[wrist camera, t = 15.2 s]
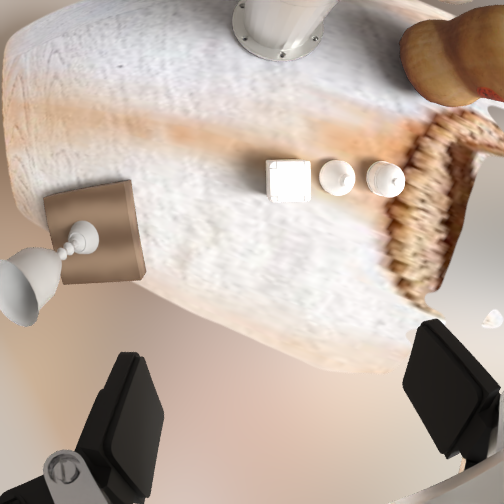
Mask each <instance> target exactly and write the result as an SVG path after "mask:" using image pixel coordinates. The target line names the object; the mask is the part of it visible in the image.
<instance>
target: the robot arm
mask: <svg viewBox="0 0 504 504" xmlns="http://www.w3.org/2000/svg"><path fill="white" fill-rule="evenodd" d="M338 1H339V0H240V1H239V3H238V4H237V6H236V7H235V10H234V13H233V18H232V25H233V30H234V33H235V36H236V37H237V39H238V41H239V42H240V43H241V44H242V46H243V47H244V48H245V49H247V50H248V51H249V52H251V53H252V54H254V55H256V56H258V57H261V58H263V59H266V60H271V61H280V62H286V61H293V60H296V59H300V58H302V57H304V56H306V55H308V54H309V53H310V52H312V51H313V50H314V49H315V48H316V47H317V45H318V44H319V43H320V41H321V39H322V36H323V31H324V24H323V19H324V18H325V17H326V16H327V14H328V13H329V12H330V11H331V9H332V8H333V7H334V6H335V5H336V3H337V2H338ZM439 1H441V2H445V3H449V4H465V3H468V2H471V1H473V0H439ZM241 7H244V8H241ZM243 39H247V40H246V41H244V40H243ZM313 39H314V40H315V41H313ZM280 55H283V58H282V57H280ZM402 383H403V384H402V385H403V389H404V391H405V393H406V394H407V396H408V397H409V399H410V401H411V402H412V404H413V406H414V408H415V409H416V411H417V413H418V414H419V416H420V418H421V420H422V422H423V423H424V425H425V427H426V429H427V430H428V432H429V434H430V436H431V438H432V439H433V441H434V443H435V445H436V447H437V448H438V450H439V452H440V453H441V454H444V455H445V457H446V459H449V458H451V457H453V456H455V455H457V454H459V453H461V455H462V461H461V465H460V469H459V473H458V474H457V475H455V476H453V477H451V478H449V479H447V480H445V481H442V482H440V483H438V484H436V485H434V486H431V487H429V488H427V489H424V490H422V491H420V492H417V493H414V494H412V495H409V496H407V497H404V498H401V499H398V500H396V501H393V502H390V503H387V504H504V391H503V393H502V394H500V393H499V390H500V388H501V387H500V386H499V385H498V383H497V382H496V381H495V380H494V379H493V378H492V377H491V375H490V374H489V373H488V372H487V371H486V370H485V369H484V367H483V366H482V365H481V364H480V363H479V362H478V361H477V360H476V359H475V357H474V356H472V354H471V353H470V352H469V351H468V350H467V349H466V348H465V347H464V345H463V344H462V343H461V342H460V341H459V340H458V339H457V338H456V337H455V336H454V335H453V334H452V333H451V332H450V331H449V330H448V329H447V328H446V327H445V325H444V324H443V323H442V322H441V321H440V320H438V319H432V320H428V321H424V322H422V323H421V325H420V327H418V329H417V332H416V336H415V340H414V344H413V348H412V351H411V355H410V358H409V362H408V365H407V368H406V372H405V375H404V378H403V382H402ZM163 421H164V411H163V408H162V405H161V403H160V400H159V397H158V395H157V392H156V390H155V387H154V384H153V381H152V379H151V376H150V373H149V370H148V367H147V364H146V361H145V359H144V357H140V356H139V354H138V353H137V352H121V353H120V354H119V355H118V357H117V360H116V362H115V364H114V366H113V368H112V371H111V373H110V375H109V377H108V380H107V382H106V384H105V386H104V389H102V390H100V391H99V393H98V395H97V397H96V400H95V402H94V404H93V407H92V409H91V411H90V414H89V416H88V419H87V421H86V423H85V426H84V429H83V431H82V433H81V436H80V438H79V441H78V444H77V446H76V449H75V451H71V450H60V451H56V452H55V453H53V454H51V455H50V456H49V458H47V460H46V462H45V463H44V468H43V472H44V475H42V476H39V477H37V478H35V479H33V480H31V481H28V482H26V483H24V484H22V485H19V486H17V487H14V488H12V489H10V490H7V491H6V492H4V493H3V494H2V495H1V496H0V504H133V503H136V504H144V501H145V498H149V496H150V494H151V488H152V482H153V476H154V469H155V464H156V458H157V452H158V447H159V442H160V436H161V431H162V426H163Z"/></svg>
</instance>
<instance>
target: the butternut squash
mask: <svg viewBox="0 0 504 504" xmlns="http://www.w3.org/2000/svg"><path fill="white" fill-rule="evenodd" d="M399 45H400V59H401V62H402V65H403V68H404V71H405V73H406V75H407V78H408V80H409V81H410V83H411V84H412V85H413V87H414V88H415V89H416V90H417V92H418V93H419V94H420V95H421V96H422V97H424V98H425V99H426V100H428V101H430V102H434V103H437V104H440V105H443V106H447V107H458V106H465V105H469V104H472V103H473V102H475V101H476V100H478V99H479V98H487V99H492V100H495V101H500V102H504V5H493V6H485V7H479V8H474V9H472V10H470V11H468V12H465V13H464V14H461V15H460V16H458V17H456V18H454V19H452V20H449V21H446V20H426V21H422V22H419V23H417V24H415V25H413V26H411V27H410V28H408V29H407V30H406V31H405V32H404V34H403V36H402V38H401V40H400V42H399Z"/></svg>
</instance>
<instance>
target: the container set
mask: <svg viewBox="0 0 504 504" xmlns="http://www.w3.org/2000/svg"><path fill="white" fill-rule="evenodd" d="M309 167H311V164H310V161H307V160H301V159H297V160H296V159H287V160H266V190H267V197H268V199H269V200H270V202H304V201H310V198H311V196H310V195H309V194H311V168H309ZM319 181H320V184H321V186H322V188H323V189H324V190H325V191H327V192H328V193H330V194H332V195H336V196H341V195H344V194H346V193H348V192H349V191H350V190H351V189H352V187H353V185H354V183H355V174H354V171H353V169H352V167H351V166H350V165H349V164H348V163H346V162H344V161H341V160H331V161H328V162H327V163H325V164H324V165H323V166H322V168H321V170H320V173H319ZM366 182H367V185H368V187H369V189H370V190H371V191H372V192H373V193H374V194H377V195H380V196H384V197H394V196H397V195H398V194H400V193H401V191H402V190H403V188H404V185H405V177H404V174H403V172H402V170H401V169H400V168H399V167H398V166H396V165H394V164H392V163H388V162H385V161H377V162H375V163H373V164H372V165H371V166H370V167H369V169H368V171H367V175H366Z"/></svg>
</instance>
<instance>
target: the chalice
mask: <svg viewBox="0 0 504 504" xmlns="http://www.w3.org/2000/svg"><path fill="white" fill-rule="evenodd" d="M98 243H99V236H98V233H97V230H96V229H95V227H94V226H93V225H92V224H91V223H89V222H87V221H78V222H76V223H75V224H74V225H73V226H72V228H71V230H70V233H69V236H68V242H66V243H65V244H64V246H63V248H59V249H58V250H57V252H55V251H54V250H50V249H46V248H38V247H37V248H36V247H35V248H34V247H33V248H26V249H23V250H21V251H20V252H18V253H16V254H15V255H14V256H12V257H10V258H9V259H7V260H0V310H1V311H2V312H3V313H4V315H5V316H7V317H8V318H9V319H10V320H11V321H13V322H14V323H16V324H17V325H21V326H25V327H27V326H31V325H33V324H34V323H35V322H36V321H37V317H38V314H39V310H40V309H41V308H42V307H43V306H44V305H45V304H46V303H47V302H48V301H49V300H50V298H51V297H52V296H53V295H54V294H55V291H56V289H57V286H58V283H59V280H60V275H61V268H62V261H61V260H65V259H66V258H67V255H72V254H73V253H74V252H75V253H78V254H90V253H93V252H94V251H95V250H96V249H97V247H98Z"/></svg>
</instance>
